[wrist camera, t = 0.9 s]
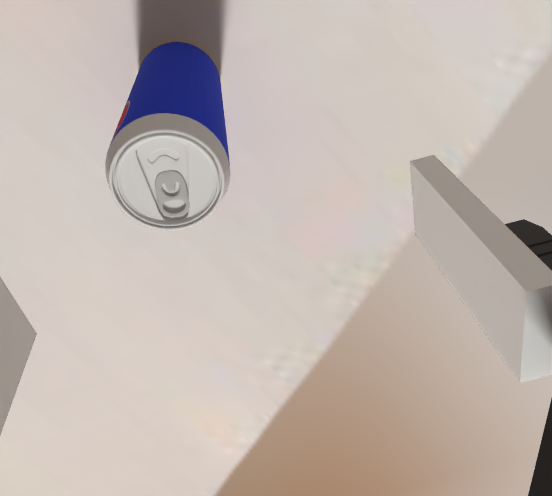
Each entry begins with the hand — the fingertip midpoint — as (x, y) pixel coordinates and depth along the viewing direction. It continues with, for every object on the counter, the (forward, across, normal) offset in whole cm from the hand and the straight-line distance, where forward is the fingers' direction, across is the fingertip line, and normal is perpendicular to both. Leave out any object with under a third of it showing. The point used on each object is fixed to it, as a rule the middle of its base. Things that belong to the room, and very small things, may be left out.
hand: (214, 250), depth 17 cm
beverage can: (+21, -1, 0) cm, 21 cm away
